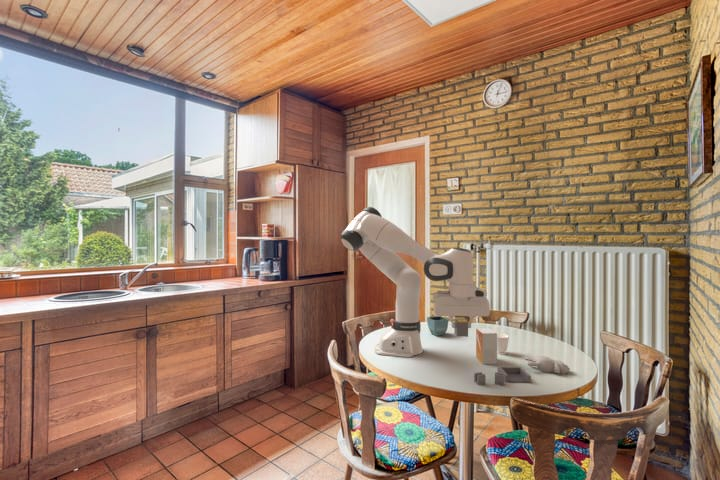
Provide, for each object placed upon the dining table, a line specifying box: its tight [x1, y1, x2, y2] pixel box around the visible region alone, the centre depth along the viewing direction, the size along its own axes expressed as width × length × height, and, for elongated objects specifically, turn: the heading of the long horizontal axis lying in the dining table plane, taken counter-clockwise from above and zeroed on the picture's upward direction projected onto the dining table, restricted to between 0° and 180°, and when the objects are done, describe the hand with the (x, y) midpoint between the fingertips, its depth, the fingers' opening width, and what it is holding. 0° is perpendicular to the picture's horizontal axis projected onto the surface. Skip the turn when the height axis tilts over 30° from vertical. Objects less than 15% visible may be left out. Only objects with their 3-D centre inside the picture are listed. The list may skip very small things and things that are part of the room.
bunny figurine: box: [524, 355, 571, 375], centre depth 136 cm, size 10×5×15 cm
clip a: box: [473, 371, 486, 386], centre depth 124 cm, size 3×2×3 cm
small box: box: [475, 327, 498, 365], centre depth 147 cm, size 8×6×13 cm
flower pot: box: [426, 315, 450, 337], centre depth 187 cm, size 9×9×9 cm
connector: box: [453, 316, 469, 338], centre depth 128 cm, size 4×5×6 cm
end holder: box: [496, 365, 532, 384], centre depth 129 cm, size 9×9×2 cm
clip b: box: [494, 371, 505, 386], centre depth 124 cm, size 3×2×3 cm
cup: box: [497, 333, 510, 356], centre depth 157 cm, size 7×10×8 cm
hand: (461, 327), depth 128 cm, fingers closed on connector, 4 cm apart
